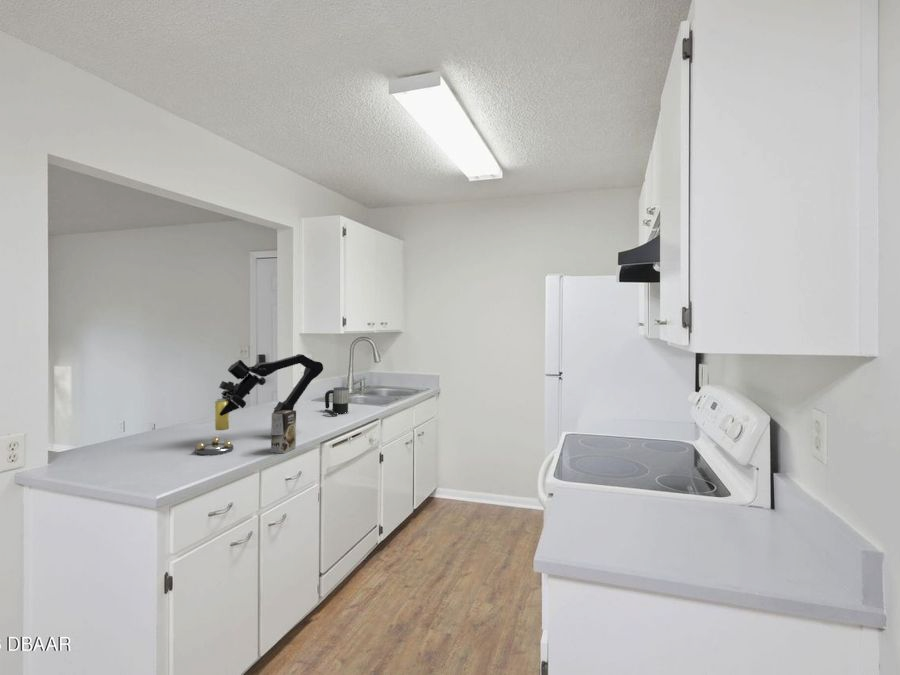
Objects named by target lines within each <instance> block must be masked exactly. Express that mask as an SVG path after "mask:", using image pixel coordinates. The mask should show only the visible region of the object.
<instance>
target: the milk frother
mask: <svg viewBox="0 0 900 675" xmlns="http://www.w3.org/2000/svg"><path fill="white" fill-rule="evenodd" d="M349 390H350V388H349V387H345V386H344V387H340V386H339V387H337V386H336V387H333V388H332V389H329V390H327V391H326V392H325V393H324V403H325V404H324V405H325V409H324V412H325V413H327V414H329V415H330V416H332V415H333V416H338V414H337V413H345V412H348V413H349ZM331 394H332V407H331V408H332V410H330V395H331Z"/></svg>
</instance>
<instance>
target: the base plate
mask: <svg viewBox="0 0 900 675" xmlns="http://www.w3.org/2000/svg"><path fill="white" fill-rule="evenodd" d="M232 450H233V451H234V444H233V443H232V442H231V441H229V440H227V441H224V442H219V437H212V439H211V443H203V442H200V443H197V444H196V447H195V449H194V453H195V454H196V453H197V454H200V455H199V456H204V455H210V456H218V455H217V454H220V455H224V454H223V453H225V454H228V453H227V452H229V453H231V452H233V451H232ZM230 451H231V452H230ZM197 454H196V455H197Z"/></svg>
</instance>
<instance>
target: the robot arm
mask: <svg viewBox="0 0 900 675" xmlns="http://www.w3.org/2000/svg"><path fill="white" fill-rule="evenodd" d="M299 364H300V365H301V366H303V367H304V369H303V370H304V371H303V375H301V376H302V377H301V378H300V380H298V382H297V384H296V385H295V386H294V387H293V389H292V391H291V392H290V393H289V395H288V396H287V397H286V399H285V400H284V401H278V402H277V405H276V406H275V407H274V408H273V412H272V413H275V412H278V411H282V410H294V408H295V405H296V404H297V402H298V400H299V399H300V397H301V396H302V395H303V393H304V392H305V390H306V389H307V388H308V386H309V385H310V384H311V382H312V381H313V380H315V379H316V378H317V377H318V376H319V375H320V374H321V373H322V372H323V371H324V365H323V363H322V362H321V361H315V360H313V359H312V358H309V357H307V356H306V355H305V354H303V353H302V354H300V353H298V354H296V355H293V356H289V357H284V358H283V359H282V358H281V359H279V360H275V361H268V362H267V361H265V362H258V363H256V364H254V365H253V366H247V365H246V364H245V362H244V361H243V360H242V359H238V361H236V362H234V363H233V364H231V365H230V366H229V367H228V369H227V371H228V372H229V373H230V374H231V375H232V376H233V377H234V378H236V379H237V380H240V379H241V381H240V382H239V383H238V382H237V383H235V382H233V381H230V380H229V381H227V382H226V381H223V380H222V381H221V383H220V385H219V387H218V388H219V389H221V390H223V391H222V392H221V399H227V404H226V406H225V407H224V408H223V410H222V411H221V412H220V415H221V416H222V415H224V414H227V413H229V414H230V413H231V412H233V411H235V410H238V409H240V408H241V409H244V408H245V407H246V406H247V405H246V404H247V401H245V400H244V398H245V397H246V396H247V395H250V394H251V391H252V390H253V389H254V388H255V387H256V385H258V384H259V385H260V386H263V385H264V383H263V381H264V379H263V378H265V377H267V376H269V375H272V374H273V373H274V372H277V371H278V370H282V369H285V368H289V367H292V366H295V365H299ZM251 373H252V374H251ZM258 376H259V377H262V378H259V377H258Z"/></svg>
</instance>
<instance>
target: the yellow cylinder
mask: <svg viewBox="0 0 900 675" xmlns="http://www.w3.org/2000/svg"><path fill="white" fill-rule="evenodd" d="M214 404H215V406H214V409H215V410H214V411H215V412H214V414H215V415H214V417H215V419H214V421H215V422H214V425H215V427H214V428H215V431H226V430H229V429H230V424H229V423H230V422H229V421H230V420H229V417H230V416H229V414H230V412H229V413H227V414H224V415H222V416H221V415H220V412H221V411H222V410H223V408H224V407H225V406H226V404H227V399H222V398H218V399H217V400H216V401H214Z"/></svg>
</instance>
